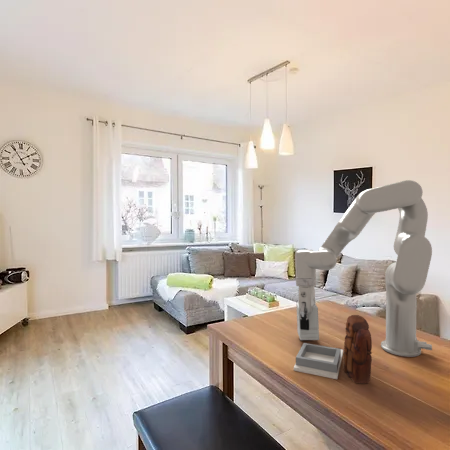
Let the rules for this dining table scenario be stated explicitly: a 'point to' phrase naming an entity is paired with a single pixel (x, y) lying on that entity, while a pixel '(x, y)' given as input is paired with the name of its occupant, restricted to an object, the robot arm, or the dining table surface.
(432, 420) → the dining table surface
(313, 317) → the supplement box
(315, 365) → the caddy
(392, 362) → the dining table surface
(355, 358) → the wooden figurine
